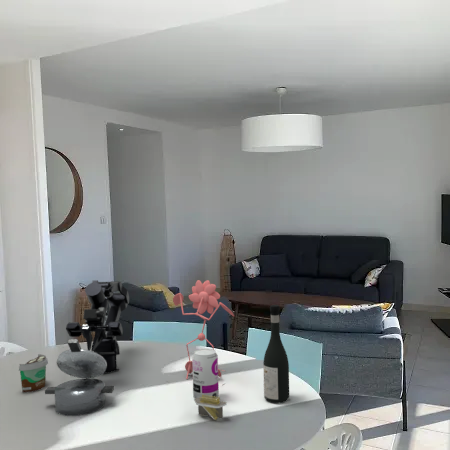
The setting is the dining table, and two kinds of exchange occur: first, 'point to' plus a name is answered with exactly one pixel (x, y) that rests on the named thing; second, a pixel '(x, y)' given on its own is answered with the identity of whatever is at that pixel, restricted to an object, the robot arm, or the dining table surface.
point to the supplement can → (205, 373)
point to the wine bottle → (276, 364)
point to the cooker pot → (79, 396)
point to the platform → (210, 406)
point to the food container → (33, 374)
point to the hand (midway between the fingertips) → (90, 351)
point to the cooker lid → (81, 361)
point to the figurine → (201, 309)
